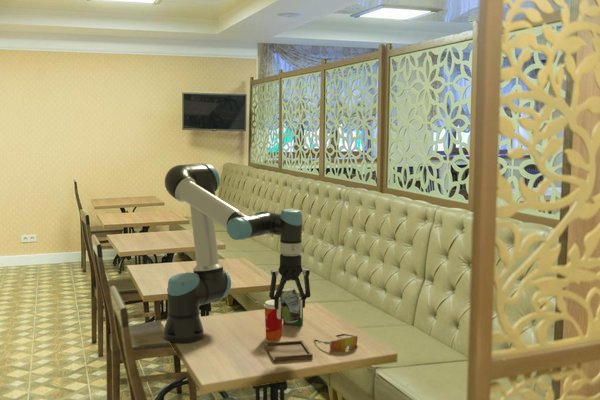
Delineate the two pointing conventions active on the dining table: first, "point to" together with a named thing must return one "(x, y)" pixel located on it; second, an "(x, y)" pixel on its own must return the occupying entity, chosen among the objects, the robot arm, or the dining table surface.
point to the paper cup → (272, 322)
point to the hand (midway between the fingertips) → (289, 317)
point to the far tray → (288, 351)
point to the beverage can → (289, 305)
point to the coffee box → (300, 321)
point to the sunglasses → (341, 342)
